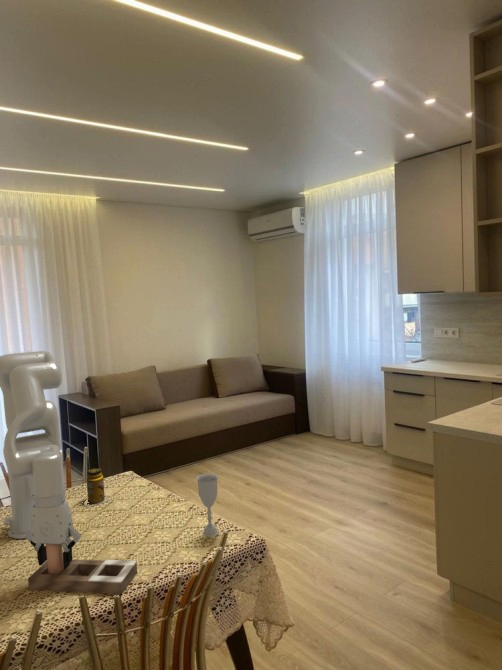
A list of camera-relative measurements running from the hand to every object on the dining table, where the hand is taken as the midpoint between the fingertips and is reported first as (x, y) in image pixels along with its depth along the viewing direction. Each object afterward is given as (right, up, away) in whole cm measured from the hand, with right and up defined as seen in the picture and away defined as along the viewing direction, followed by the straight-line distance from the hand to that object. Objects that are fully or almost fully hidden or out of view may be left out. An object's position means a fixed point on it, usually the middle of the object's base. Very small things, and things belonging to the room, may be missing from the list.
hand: (55, 562), depth 134 cm
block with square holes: (+8, -4, -1) cm, 9 cm away
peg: (0, -5, 0) cm, 5 cm away
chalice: (+40, -1, +23) cm, 46 cm away
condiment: (-6, -1, +53) cm, 53 cm away
